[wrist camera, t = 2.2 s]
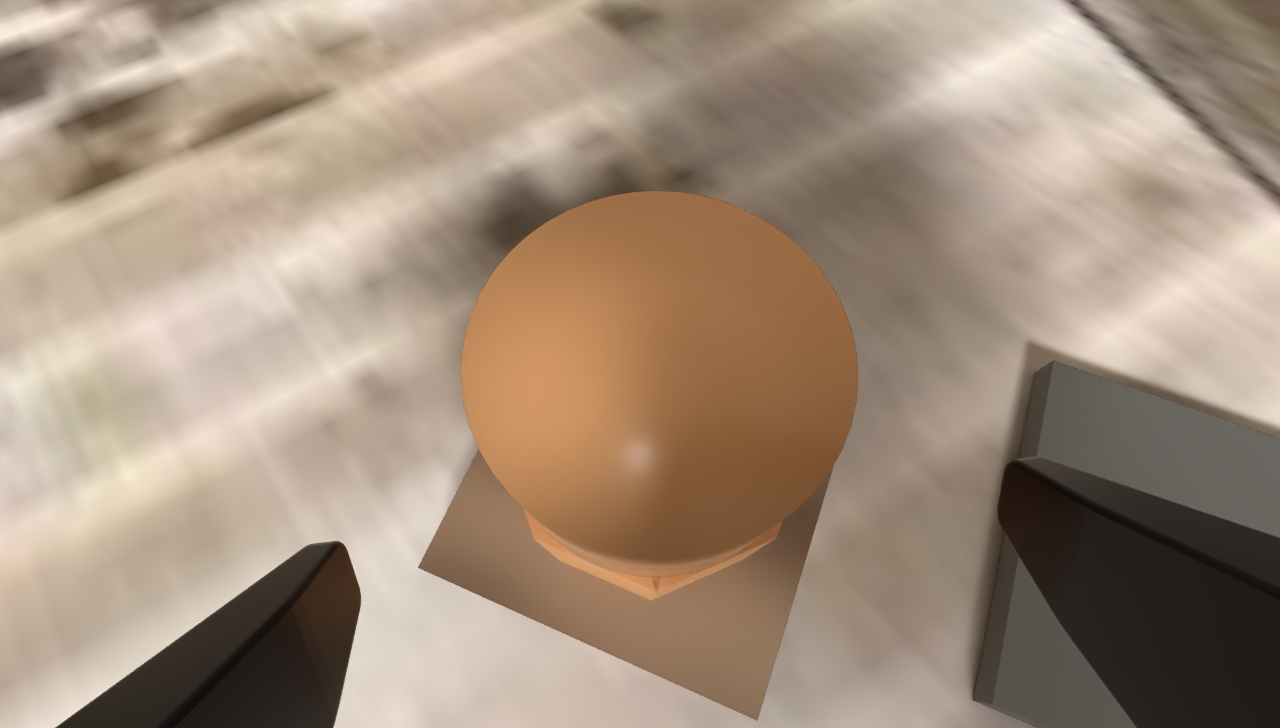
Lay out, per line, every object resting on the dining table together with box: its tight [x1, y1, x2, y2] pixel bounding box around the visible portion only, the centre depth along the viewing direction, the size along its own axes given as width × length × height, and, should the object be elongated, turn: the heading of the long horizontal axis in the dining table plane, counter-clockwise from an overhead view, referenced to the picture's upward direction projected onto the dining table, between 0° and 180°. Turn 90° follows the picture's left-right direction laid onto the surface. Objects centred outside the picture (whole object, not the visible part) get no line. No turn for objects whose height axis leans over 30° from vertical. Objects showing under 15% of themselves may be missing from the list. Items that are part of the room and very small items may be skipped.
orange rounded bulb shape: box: [461, 191, 858, 601], centre depth 13 cm, size 6×6×8 cm
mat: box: [973, 361, 1280, 728], centre depth 18 cm, size 10×10×1 cm
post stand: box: [418, 450, 834, 720], centre depth 16 cm, size 9×9×6 cm
